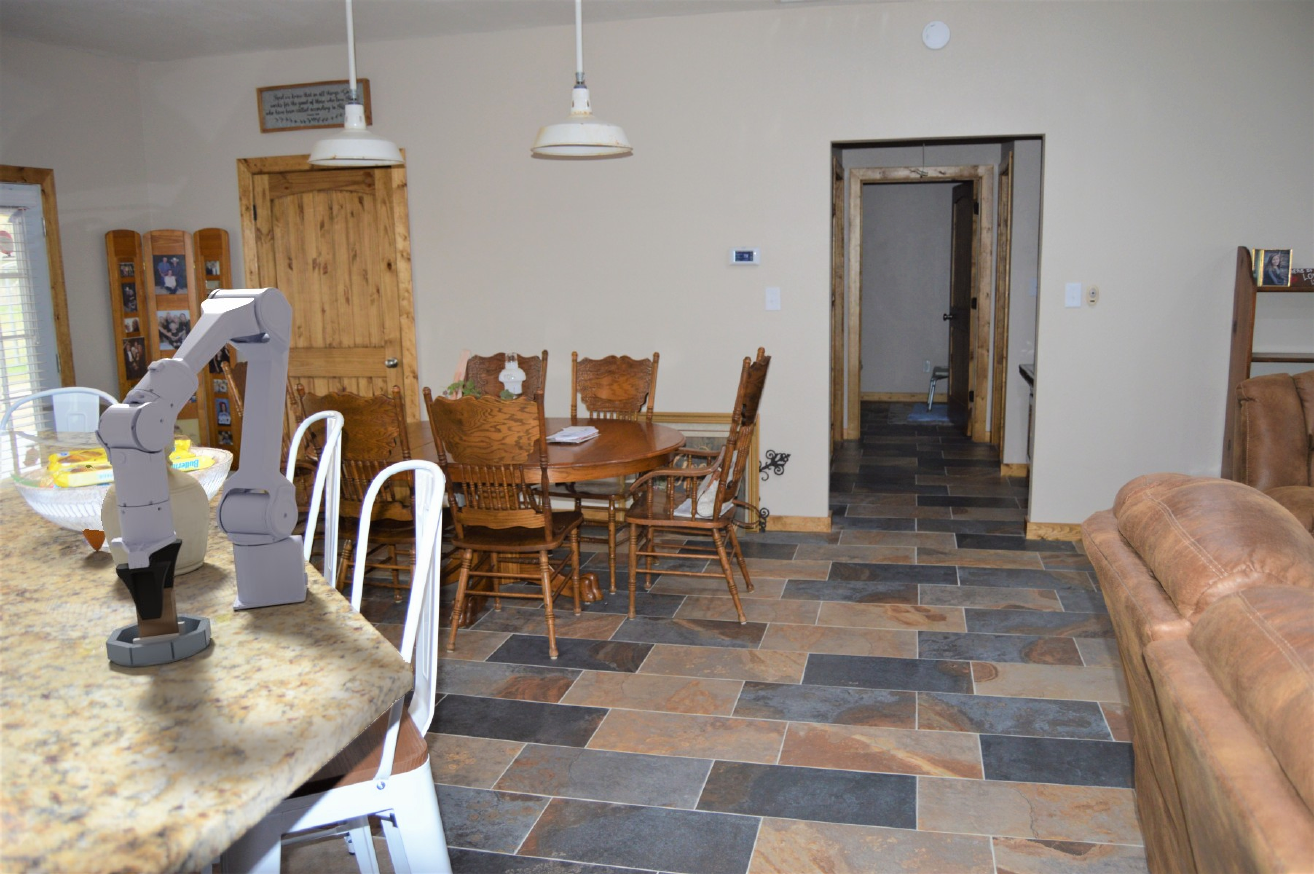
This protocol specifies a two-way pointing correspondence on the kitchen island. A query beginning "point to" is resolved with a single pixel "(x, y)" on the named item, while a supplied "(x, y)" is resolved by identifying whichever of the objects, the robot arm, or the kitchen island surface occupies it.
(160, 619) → the wooden rectangular block
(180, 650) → the blue-grey octagonal tray
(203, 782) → the kitchen island surface
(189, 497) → the jug
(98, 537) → the carrot
